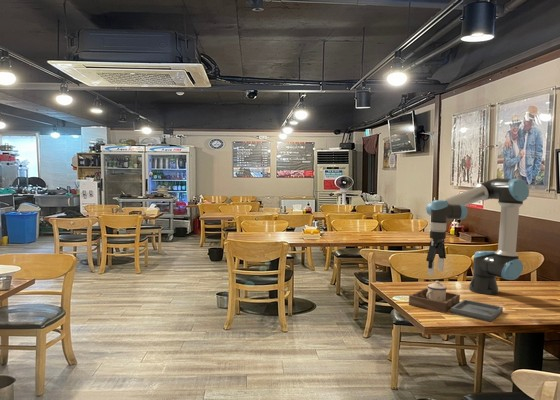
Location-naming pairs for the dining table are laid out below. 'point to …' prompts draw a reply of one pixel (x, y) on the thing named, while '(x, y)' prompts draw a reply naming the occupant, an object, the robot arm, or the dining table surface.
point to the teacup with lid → (436, 292)
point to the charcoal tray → (477, 310)
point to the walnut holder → (420, 301)
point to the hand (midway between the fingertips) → (435, 272)
